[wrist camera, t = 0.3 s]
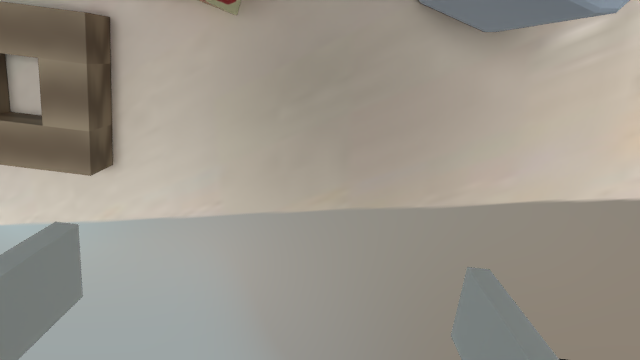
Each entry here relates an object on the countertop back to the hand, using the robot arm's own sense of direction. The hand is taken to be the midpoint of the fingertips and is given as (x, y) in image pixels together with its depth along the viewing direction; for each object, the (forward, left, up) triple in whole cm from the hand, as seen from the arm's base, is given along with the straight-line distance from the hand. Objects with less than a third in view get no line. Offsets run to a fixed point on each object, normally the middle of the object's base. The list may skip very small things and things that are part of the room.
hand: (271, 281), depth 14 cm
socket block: (-2, -26, -27) cm, 38 cm away
